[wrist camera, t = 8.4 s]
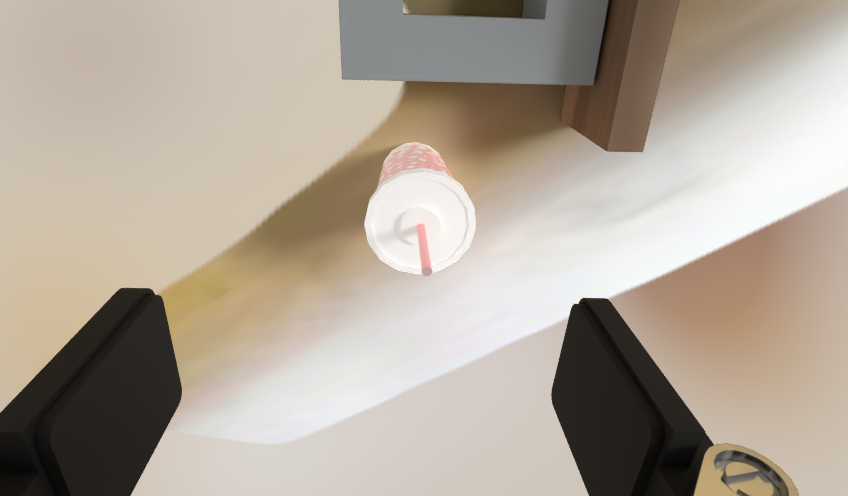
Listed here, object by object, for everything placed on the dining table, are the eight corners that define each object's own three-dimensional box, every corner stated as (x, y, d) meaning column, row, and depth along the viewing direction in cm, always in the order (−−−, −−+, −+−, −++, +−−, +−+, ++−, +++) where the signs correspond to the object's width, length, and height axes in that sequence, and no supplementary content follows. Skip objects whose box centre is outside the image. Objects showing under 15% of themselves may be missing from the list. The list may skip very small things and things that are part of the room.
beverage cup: (433, 226, 36) (455, 343, 24) (357, 194, 35) (337, 300, 22) (471, 153, 34) (519, 240, 21) (392, 115, 32) (392, 185, 20)
